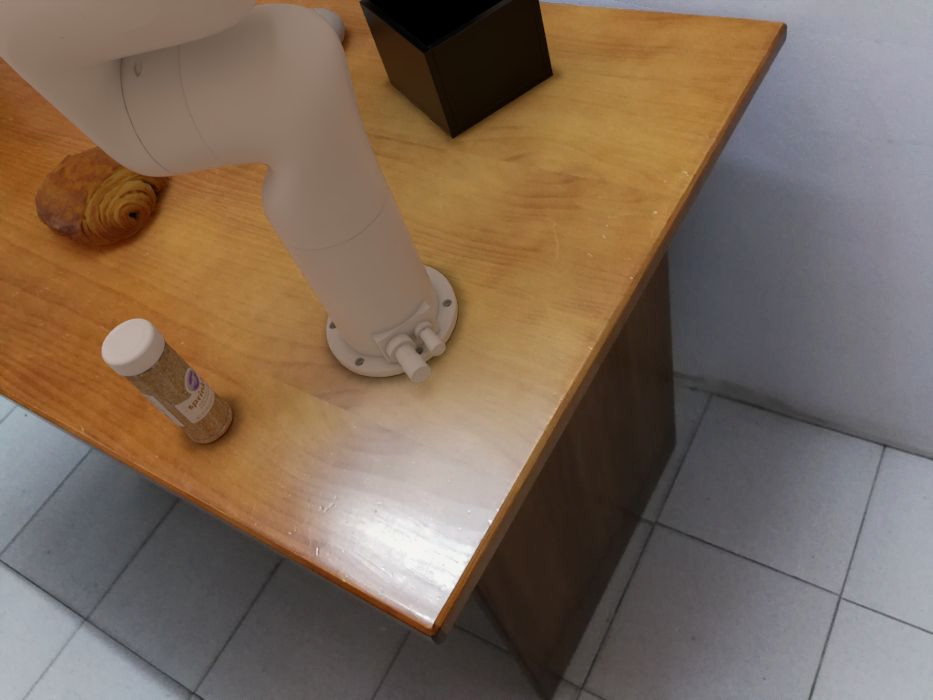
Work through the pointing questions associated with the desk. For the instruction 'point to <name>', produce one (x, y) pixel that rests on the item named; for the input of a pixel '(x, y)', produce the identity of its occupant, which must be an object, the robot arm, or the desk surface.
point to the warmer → (460, 54)
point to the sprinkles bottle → (166, 380)
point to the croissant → (96, 198)
